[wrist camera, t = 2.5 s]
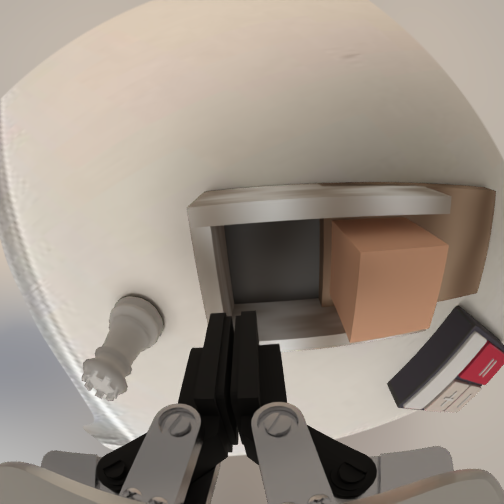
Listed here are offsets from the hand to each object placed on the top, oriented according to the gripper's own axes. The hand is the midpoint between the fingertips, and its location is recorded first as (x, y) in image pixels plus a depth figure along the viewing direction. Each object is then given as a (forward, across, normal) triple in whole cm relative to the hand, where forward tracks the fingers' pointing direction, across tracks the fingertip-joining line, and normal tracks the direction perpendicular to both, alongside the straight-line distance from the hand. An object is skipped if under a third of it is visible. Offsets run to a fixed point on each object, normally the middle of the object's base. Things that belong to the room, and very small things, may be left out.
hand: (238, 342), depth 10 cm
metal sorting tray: (+8, -9, 0) cm, 12 cm away
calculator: (+9, -22, +15) cm, 29 cm away
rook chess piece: (+9, +9, +5) cm, 14 cm away
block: (+7, -8, 0) cm, 11 cm away
